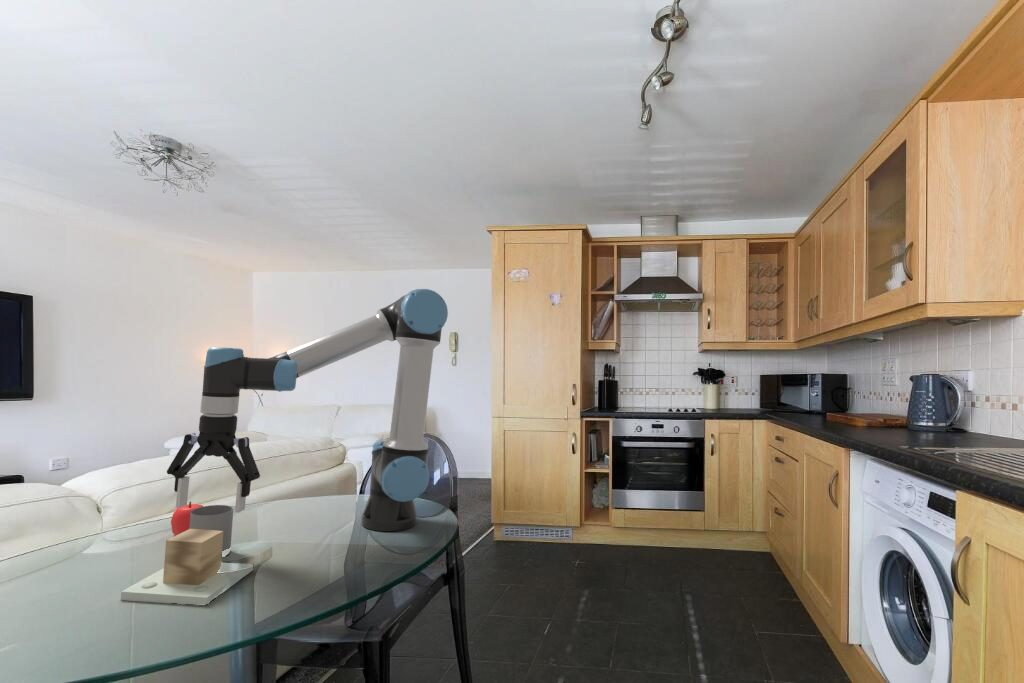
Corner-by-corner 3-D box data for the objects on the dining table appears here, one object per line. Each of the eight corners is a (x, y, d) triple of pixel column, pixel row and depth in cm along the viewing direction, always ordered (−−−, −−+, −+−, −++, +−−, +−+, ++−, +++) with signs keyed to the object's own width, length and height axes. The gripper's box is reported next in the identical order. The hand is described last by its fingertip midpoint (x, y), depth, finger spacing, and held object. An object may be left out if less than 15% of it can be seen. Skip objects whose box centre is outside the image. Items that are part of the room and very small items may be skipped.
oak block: (220, 570, 106) (223, 530, 106) (198, 585, 99) (201, 542, 99) (187, 568, 106) (190, 528, 107) (162, 582, 99) (166, 540, 100)
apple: (195, 539, 127) (198, 506, 127) (161, 539, 126) (164, 505, 126) (212, 529, 135) (214, 498, 135) (180, 528, 134) (182, 497, 134)
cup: (185, 563, 112) (189, 516, 113) (188, 550, 120) (192, 506, 120) (229, 558, 116) (233, 513, 116) (230, 546, 123) (233, 503, 124)
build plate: (253, 570, 110) (253, 563, 110) (206, 605, 94) (206, 596, 94) (179, 566, 111) (180, 558, 111) (120, 600, 95) (121, 590, 95)
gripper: (280, 416, 122) (272, 508, 121) (177, 409, 123) (168, 500, 122) (264, 420, 115) (255, 517, 114) (154, 412, 116) (144, 508, 115)
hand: (210, 508), depth 118 cm, fingers open, 13 cm apart
